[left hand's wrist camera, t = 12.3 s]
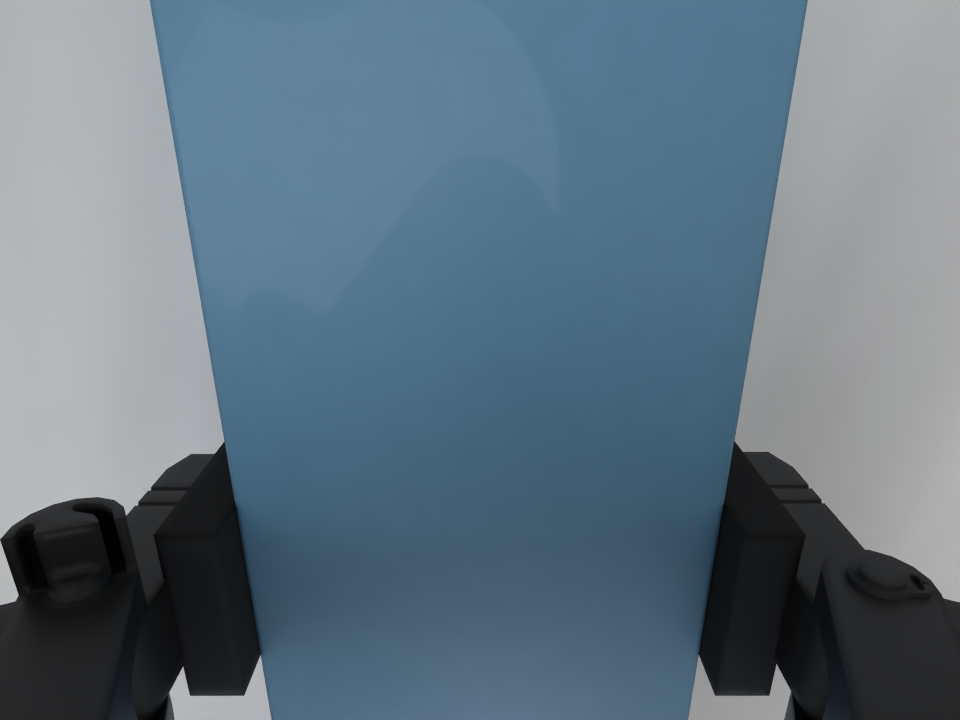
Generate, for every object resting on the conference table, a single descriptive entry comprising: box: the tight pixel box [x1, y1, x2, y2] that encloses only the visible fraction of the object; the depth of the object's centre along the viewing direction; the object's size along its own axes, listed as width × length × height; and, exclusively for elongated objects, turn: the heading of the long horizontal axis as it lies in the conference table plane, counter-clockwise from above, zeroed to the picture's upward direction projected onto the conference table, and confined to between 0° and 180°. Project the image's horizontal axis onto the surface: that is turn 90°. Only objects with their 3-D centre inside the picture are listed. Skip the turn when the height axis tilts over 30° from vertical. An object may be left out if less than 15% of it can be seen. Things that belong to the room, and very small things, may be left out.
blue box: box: [150, 0, 808, 720], centre depth 12 cm, size 16×7×9 cm, turn 0°
